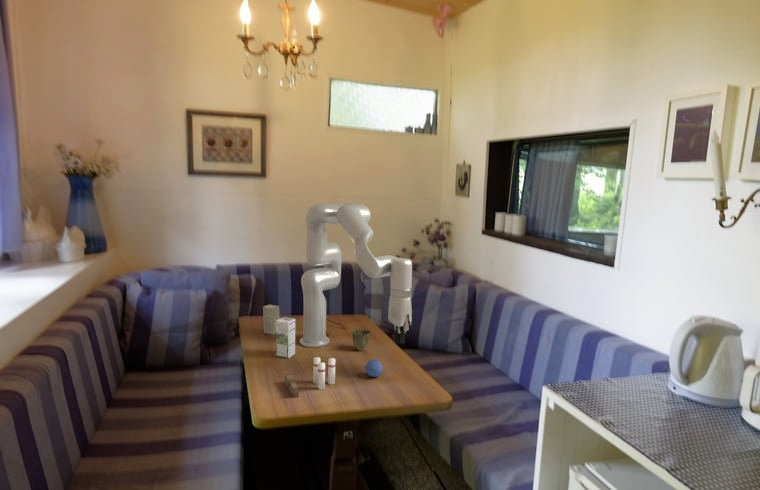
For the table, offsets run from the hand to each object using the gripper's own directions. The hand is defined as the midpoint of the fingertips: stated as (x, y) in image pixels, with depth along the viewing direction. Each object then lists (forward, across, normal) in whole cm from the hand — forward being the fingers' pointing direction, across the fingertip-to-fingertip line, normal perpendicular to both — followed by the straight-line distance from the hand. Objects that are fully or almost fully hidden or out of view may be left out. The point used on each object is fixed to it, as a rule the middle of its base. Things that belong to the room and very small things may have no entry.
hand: (399, 342), depth 173 cm
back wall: (+11, -1, -40) cm, 41 cm away
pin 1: (+11, -3, -30) cm, 32 cm away
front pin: (+11, -1, -26) cm, 28 cm away
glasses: (+11, -56, -8) cm, 58 cm away
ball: (+8, -1, -10) cm, 13 cm away
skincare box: (+10, -61, -33) cm, 70 cm away
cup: (+11, -27, -4) cm, 29 cm away
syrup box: (+11, -32, -34) cm, 48 cm away
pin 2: (+11, +2, -30) cm, 32 cm away
